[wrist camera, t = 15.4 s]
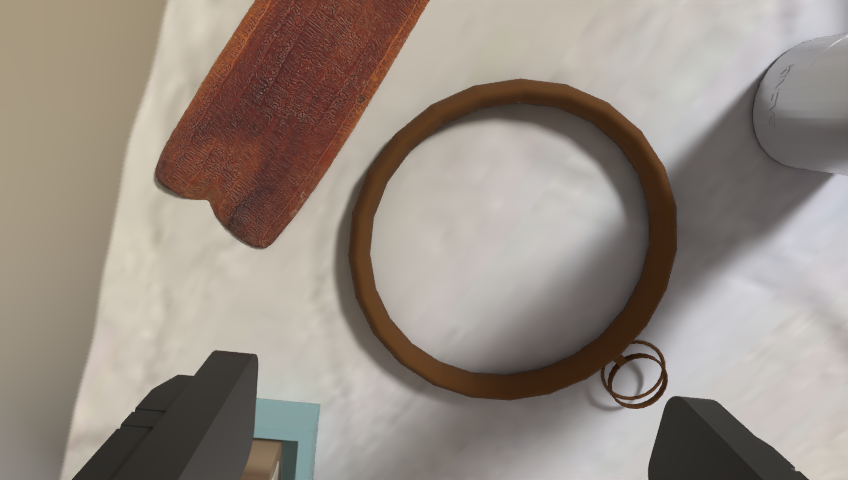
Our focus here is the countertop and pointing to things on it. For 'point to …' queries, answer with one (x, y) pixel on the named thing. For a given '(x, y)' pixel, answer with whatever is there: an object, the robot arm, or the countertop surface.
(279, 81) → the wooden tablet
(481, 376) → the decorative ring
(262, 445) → the picture frame
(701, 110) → the countertop surface
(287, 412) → the light blue rectangular tray
